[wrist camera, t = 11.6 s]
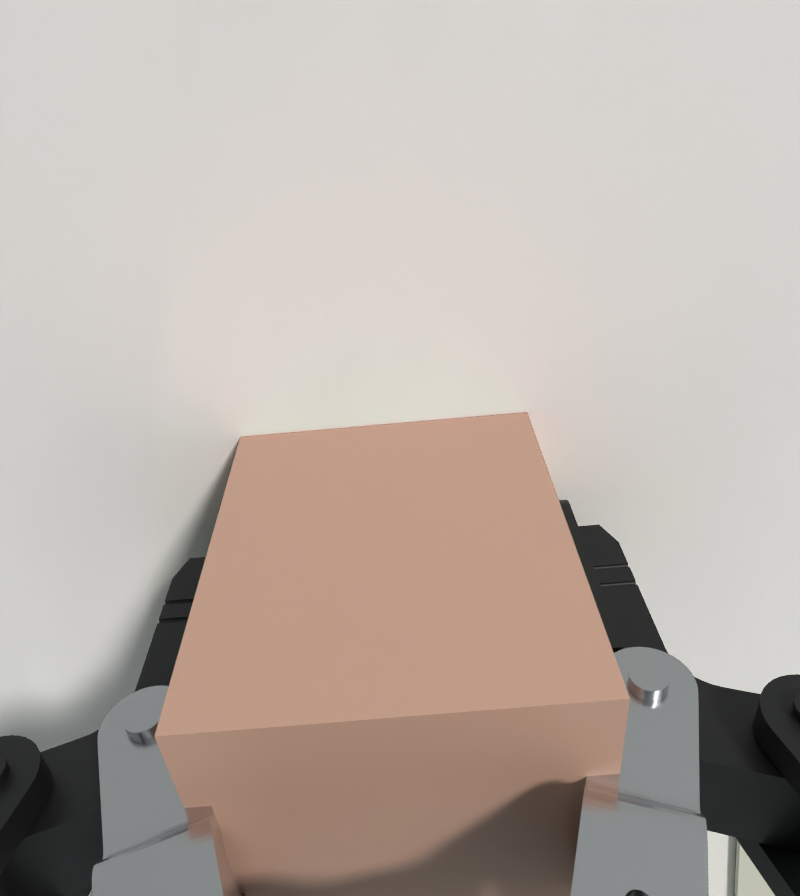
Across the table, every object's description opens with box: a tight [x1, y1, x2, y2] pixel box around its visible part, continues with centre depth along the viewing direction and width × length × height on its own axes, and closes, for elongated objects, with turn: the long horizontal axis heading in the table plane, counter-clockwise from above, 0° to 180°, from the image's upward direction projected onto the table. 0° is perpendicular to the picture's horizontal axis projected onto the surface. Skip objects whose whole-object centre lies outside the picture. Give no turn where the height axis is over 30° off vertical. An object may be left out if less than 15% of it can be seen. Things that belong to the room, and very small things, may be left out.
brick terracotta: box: [154, 412, 630, 896], centre depth 12 cm, size 5×5×6 cm
